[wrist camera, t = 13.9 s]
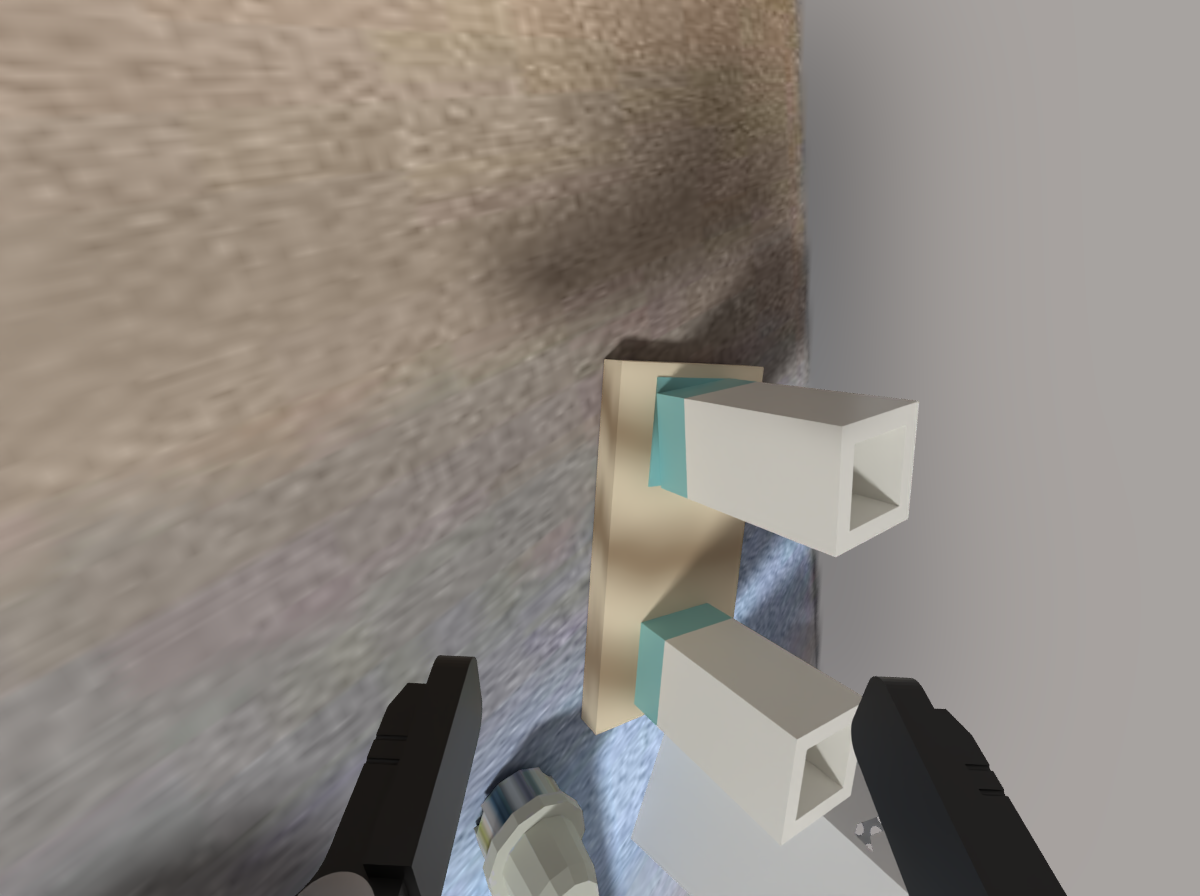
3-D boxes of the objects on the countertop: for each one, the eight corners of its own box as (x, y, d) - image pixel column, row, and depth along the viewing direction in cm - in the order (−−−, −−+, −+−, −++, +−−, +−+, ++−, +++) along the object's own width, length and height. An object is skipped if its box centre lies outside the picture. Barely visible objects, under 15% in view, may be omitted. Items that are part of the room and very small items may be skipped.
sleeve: (656, 393, 26) (842, 426, 18) (728, 378, 29) (918, 401, 21) (661, 488, 28) (835, 557, 20) (729, 465, 30) (908, 518, 22)
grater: (775, 680, 41) (1135, 922, 24) (733, 810, 41) (1061, 1135, 25) (679, 685, 34) (1075, 1012, 18) (630, 838, 35) (977, 1294, 18)
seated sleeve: (640, 622, 29) (797, 739, 21) (707, 602, 32) (867, 699, 24) (634, 704, 30) (780, 845, 22) (699, 678, 33) (850, 795, 25)
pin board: (604, 359, 26) (693, 368, 21) (743, 365, 32) (840, 373, 27) (581, 718, 30) (651, 799, 25) (709, 668, 36) (788, 726, 31)
